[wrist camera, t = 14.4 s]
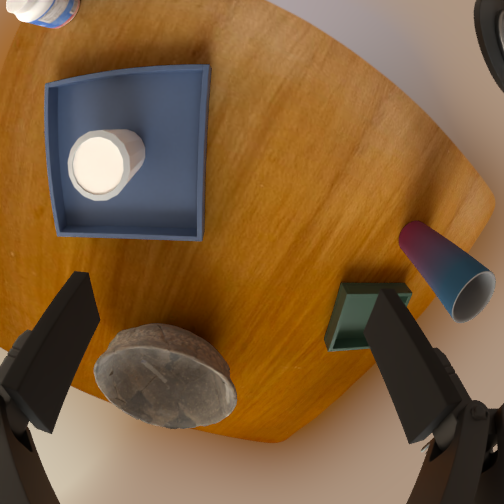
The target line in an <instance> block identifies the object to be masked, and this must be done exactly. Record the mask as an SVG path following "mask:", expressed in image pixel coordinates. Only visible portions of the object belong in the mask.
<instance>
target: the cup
mask: <svg viewBox="0 0 504 504" xmlns="http://www.w3.org/2000/svg"><path fill="white" fill-rule="evenodd" d="M399 246H400V248H401V249H402V250H403V252H404V253H405V254H406V255H407V257H408V258H409V259H410V260H411V262H412V263H413V264H414V266H415V267H416V268H417V269H418V271H419V272H420V273H421V275H422V276H423V277H424V279H425V280H426V281H427V283H428V284H429V286H430V287H431V288H432V290H433V291H434V292H435V294H436V295H437V297H438V298H439V299H440V301H441V302H442V304H443V305H444V307H445V308H446V310H447V311H448V312H449V314H450V315H451V317H452V318H453V320H454V321H455V322H457V323H464V322H467V321H469V320H471V319H472V318H474V317H476V316H477V315H478V314H479V313H480V312H481V311H482V310H483V309H484V307H485V306H486V305H487V304H488V302H489V300H490V299H491V297H492V294H493V292H494V289H495V283H496V281H495V276H494V274H493V273H492V272H491V271H490V270H489V269H487V268H486V267H485V266H483V265H482V264H481V263H479V262H478V261H477V260H476V259H474V258H473V257H472V256H470V255H469V254H467V253H466V252H465V251H463V250H462V249H461V248H459V247H458V246H456V245H455V244H454V243H452V242H451V241H449V240H448V239H446V238H445V237H443V236H442V235H440V234H439V233H438V232H436V231H435V230H433V229H432V228H430V227H429V226H427V225H425V224H424V223H422V222H420V221H412V222H410V223H408V224H407V225H406V226H405V227H404V228H403V229H402V231H401V233H400V236H399Z"/></svg>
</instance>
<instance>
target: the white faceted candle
mask: <svg viewBox="0 0 504 504" xmlns="http://www.w3.org/2000/svg"><path fill="white" fill-rule="evenodd" d="M144 159H145V146H144V144H143V141H142V139H141V138H140V137H139V136H138V135H137V134H136V133H135V132H133V131H130V130H127V129H113V130H97V131H89V132H87V133H86V134H84V135H83V136H81V137H80V138H78V139H77V141H76V142H75V144H74V145H73V147H72V148H71V150H70V154H69V158H68V171H69V177H70V179H71V181H72V183H73V185H74V187H75V188H76V189H77V190H78V191H79V192H80V193H81V194H82V195H83V196H84V197H87V198H89V199H92V200H94V201H104V200H108V199H110V198H112V197H114V196H116V195H118V194H119V193H120V191H121V190H122V189H123V188H124V187H125V185H126V184H127V183H128V182H129V181H130V179H131V178H132V177H133V176H134V175H135V173H136V172H137V171H138V170H139V169H140V167H141V166H142V164H143V162H144Z"/></svg>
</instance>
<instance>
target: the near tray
mask: <svg viewBox="0 0 504 504" xmlns="http://www.w3.org/2000/svg"><path fill="white" fill-rule="evenodd" d="M211 69H212V68H211V66H210V65H209V64H204V65H203V64H183V65H161V66H147V67H136V68H127V69H119V70H111V71H104V72H98V73H92V74H87V75H81V76H76V77H71V78H67V79H62V80H58V81H54V82H50V83H46V84H45V101H44V122H45V147H46V161H47V172H48V181H49V189H50V197H51V204H52V210H53V216H54V222H55V227H56V232H57V236H62V237H95V238H126V239H154V240H180V241H202V240H203V235H204V223H205V177H206V150H207V129H208V112H209V96H210V82H211ZM113 129H127V130H130V131H133V132H135V133H136V134H137V135H138V136H139V137H140V138H141V139H142V141H143V144H144V146H145V159H144V162H143V164H142V166H141V167H140V169H139V170H138V171H137V172H136V173H135V175H134V176H133V177H132V178H131V179H130V181H129V182H128V183H127V184H126V185H125V187H124V188H123V189H122V190H121V191H120V193H119V194H118V195H116V196H114V197H112V198H110V199H108V200H104V201H94V200H92V199H89V198H87V197H84V196H83V195H82V194H81V193H80V192H79V191H78V190H77V189H76V188H75V187H74V185H73V183H72V181H71V179H70V177H69V171H68V158H69V154H70V150H71V148H72V147H73V145H74V144H75V142H76V141H77V139H78V138H80V137H81V136H83V135H84V134H86V133H87V132H89V131H97V130H113Z"/></svg>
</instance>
